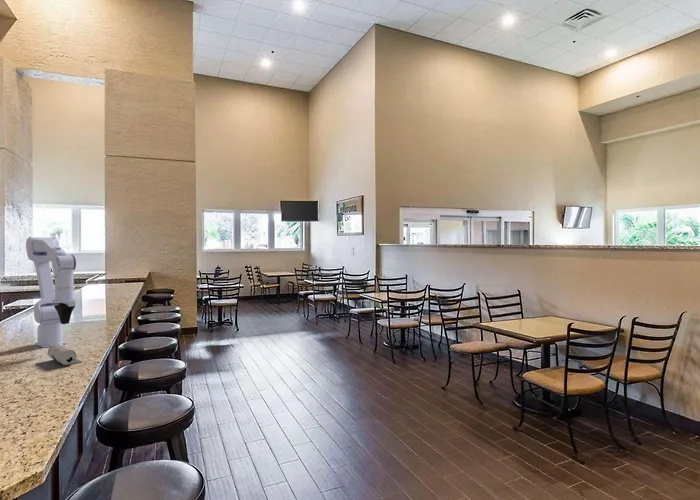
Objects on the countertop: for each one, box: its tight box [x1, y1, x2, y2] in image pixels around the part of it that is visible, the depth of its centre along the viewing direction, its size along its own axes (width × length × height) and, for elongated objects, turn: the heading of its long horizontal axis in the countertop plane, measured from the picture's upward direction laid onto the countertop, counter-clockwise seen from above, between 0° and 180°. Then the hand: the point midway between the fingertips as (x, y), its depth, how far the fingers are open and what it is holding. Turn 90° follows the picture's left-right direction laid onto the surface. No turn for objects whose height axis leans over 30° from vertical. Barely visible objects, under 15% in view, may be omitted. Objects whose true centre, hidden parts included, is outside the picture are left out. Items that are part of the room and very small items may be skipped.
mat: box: [35, 358, 83, 371], centre depth 135 cm, size 10×10×1 cm
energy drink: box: [47, 343, 77, 366], centre depth 136 cm, size 5×5×12 cm
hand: (65, 323), depth 149 cm, fingers closed
